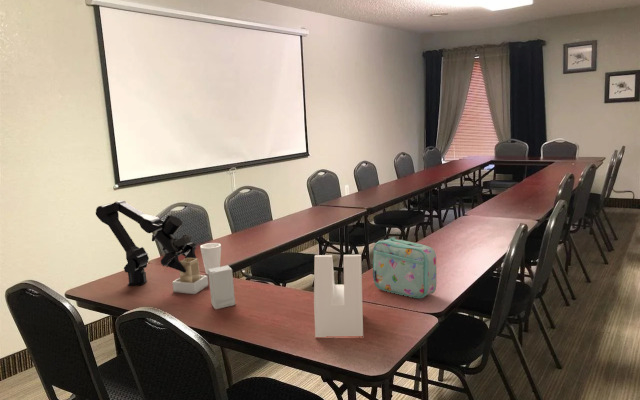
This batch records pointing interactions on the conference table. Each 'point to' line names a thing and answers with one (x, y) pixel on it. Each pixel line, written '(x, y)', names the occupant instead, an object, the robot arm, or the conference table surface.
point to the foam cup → (211, 255)
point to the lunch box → (404, 268)
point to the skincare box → (221, 287)
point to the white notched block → (338, 298)
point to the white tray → (190, 285)
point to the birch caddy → (190, 270)
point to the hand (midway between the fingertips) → (192, 268)
